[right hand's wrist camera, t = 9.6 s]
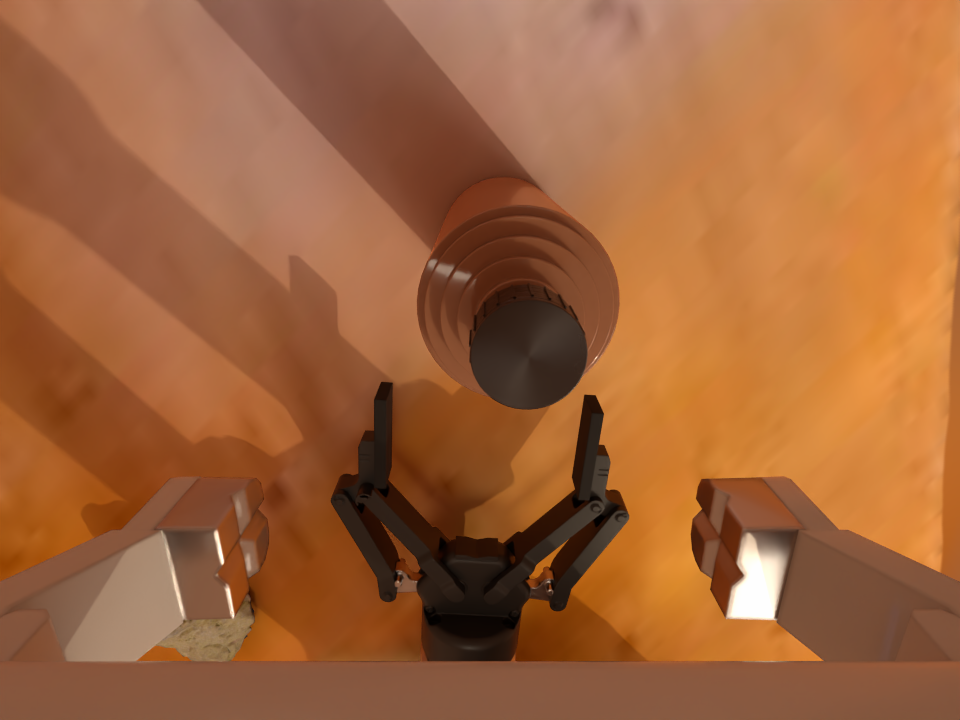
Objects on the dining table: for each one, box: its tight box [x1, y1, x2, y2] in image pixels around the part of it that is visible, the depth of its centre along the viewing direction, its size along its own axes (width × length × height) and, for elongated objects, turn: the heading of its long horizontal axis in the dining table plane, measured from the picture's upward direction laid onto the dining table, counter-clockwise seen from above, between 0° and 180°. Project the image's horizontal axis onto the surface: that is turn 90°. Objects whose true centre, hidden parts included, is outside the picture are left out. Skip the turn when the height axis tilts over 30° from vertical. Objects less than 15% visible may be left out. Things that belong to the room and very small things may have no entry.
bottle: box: [417, 177, 619, 397], centre depth 29 cm, size 8×8×22 cm
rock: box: [156, 593, 255, 661], centre depth 48 cm, size 11×6×10 cm
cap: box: [469, 283, 588, 409], centre depth 19 cm, size 4×4×2 cm
